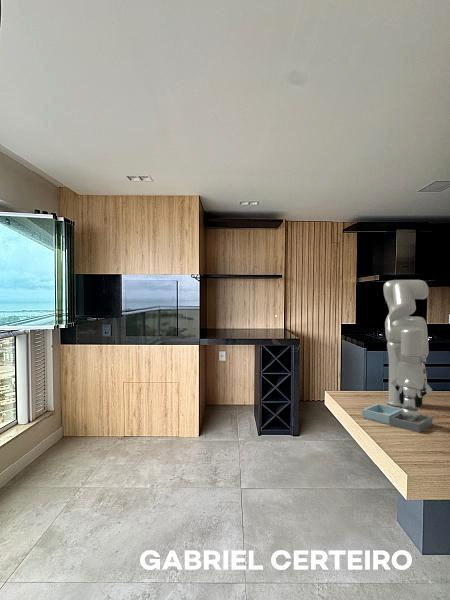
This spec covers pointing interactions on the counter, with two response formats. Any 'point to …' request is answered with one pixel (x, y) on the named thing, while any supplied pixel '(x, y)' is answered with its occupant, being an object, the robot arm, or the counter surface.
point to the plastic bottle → (410, 402)
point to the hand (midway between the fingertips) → (410, 404)
